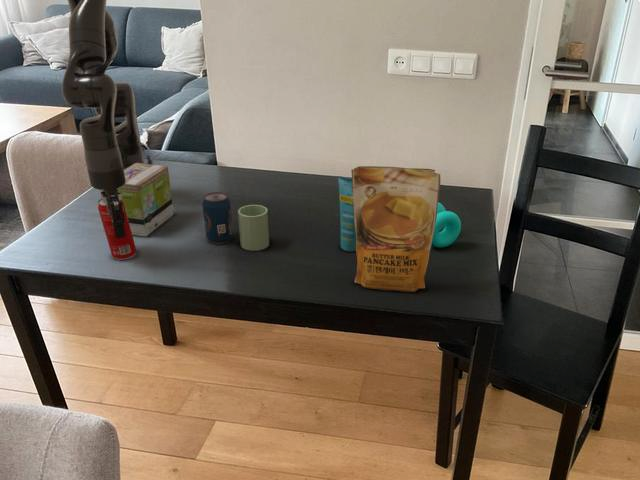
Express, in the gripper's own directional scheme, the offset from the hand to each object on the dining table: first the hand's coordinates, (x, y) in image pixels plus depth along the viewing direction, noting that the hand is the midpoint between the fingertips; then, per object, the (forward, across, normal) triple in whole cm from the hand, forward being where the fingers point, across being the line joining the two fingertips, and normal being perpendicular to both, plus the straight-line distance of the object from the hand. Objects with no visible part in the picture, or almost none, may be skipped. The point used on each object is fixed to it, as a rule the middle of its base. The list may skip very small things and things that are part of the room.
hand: (118, 231), depth 141 cm
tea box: (+7, +16, -9) cm, 20 cm away
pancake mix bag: (+7, -42, -51) cm, 67 cm away
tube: (+7, -22, -52) cm, 57 cm away
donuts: (+7, -29, -74) cm, 80 cm away
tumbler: (+7, -9, -31) cm, 33 cm away
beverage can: (+7, 0, 0) cm, 7 cm away
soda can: (+7, -2, -24) cm, 25 cm away
